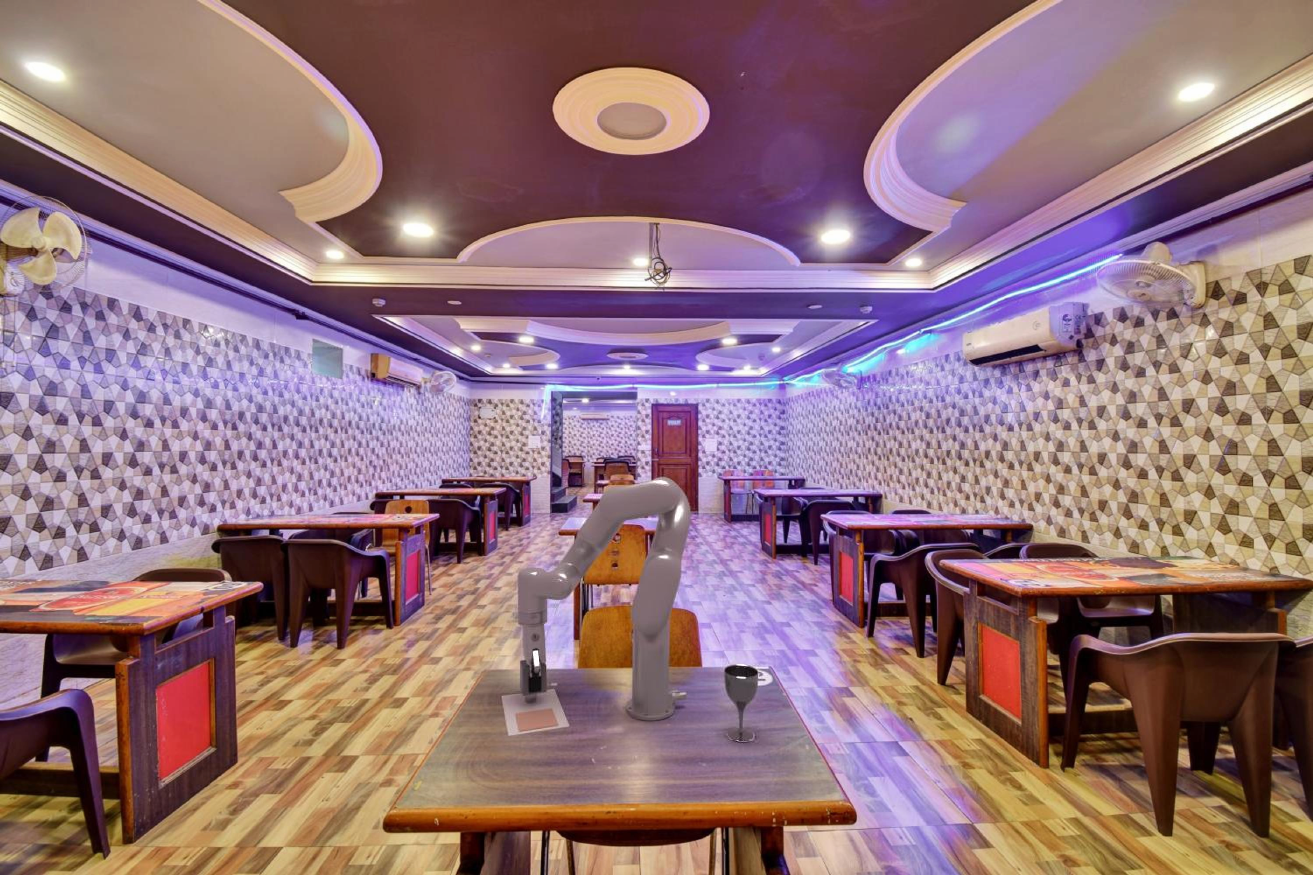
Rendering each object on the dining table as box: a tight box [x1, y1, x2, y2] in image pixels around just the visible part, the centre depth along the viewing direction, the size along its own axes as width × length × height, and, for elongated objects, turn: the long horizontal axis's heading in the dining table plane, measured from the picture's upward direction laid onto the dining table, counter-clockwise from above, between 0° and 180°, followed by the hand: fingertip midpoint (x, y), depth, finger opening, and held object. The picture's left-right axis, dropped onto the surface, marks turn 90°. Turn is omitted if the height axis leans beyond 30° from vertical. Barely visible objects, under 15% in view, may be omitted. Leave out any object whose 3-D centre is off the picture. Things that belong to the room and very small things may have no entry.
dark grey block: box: [519, 659, 548, 696], centre depth 145 cm, size 6×6×7 cm
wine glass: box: [723, 663, 759, 742], centre depth 131 cm, size 8×8×15 cm
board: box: [501, 688, 570, 737], centre depth 139 cm, size 14×22×2 cm, turn 20°
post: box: [525, 694, 537, 704], centre depth 145 cm, size 3×3×6 cm
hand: (533, 685), depth 145 cm, fingers closed on dark grey block, 5 cm apart
